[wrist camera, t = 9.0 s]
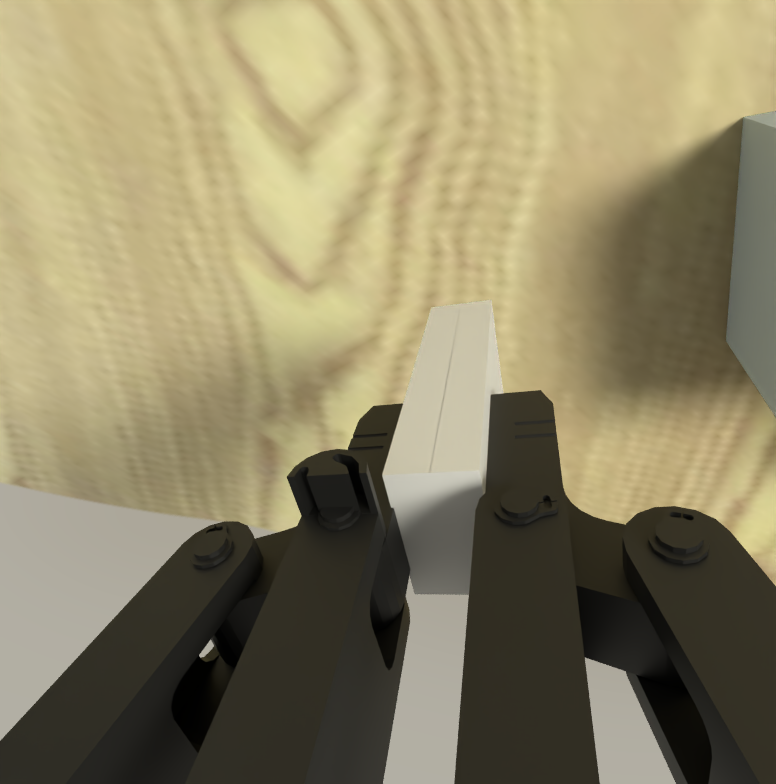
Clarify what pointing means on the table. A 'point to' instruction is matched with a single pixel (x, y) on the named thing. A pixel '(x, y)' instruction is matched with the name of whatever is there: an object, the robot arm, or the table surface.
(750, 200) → the block
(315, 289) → the table surface
